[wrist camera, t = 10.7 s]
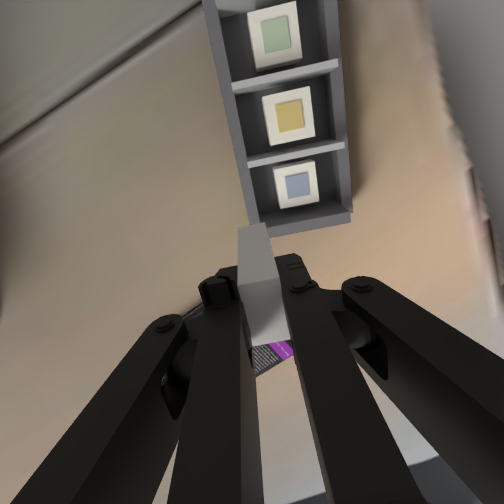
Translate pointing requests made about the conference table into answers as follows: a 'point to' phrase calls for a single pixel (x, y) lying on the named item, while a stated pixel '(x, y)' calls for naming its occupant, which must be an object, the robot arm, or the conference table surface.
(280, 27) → the key
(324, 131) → the keypad
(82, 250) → the conference table surface
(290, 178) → the key
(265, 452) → the conference table surface
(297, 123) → the key
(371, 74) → the conference table surface
